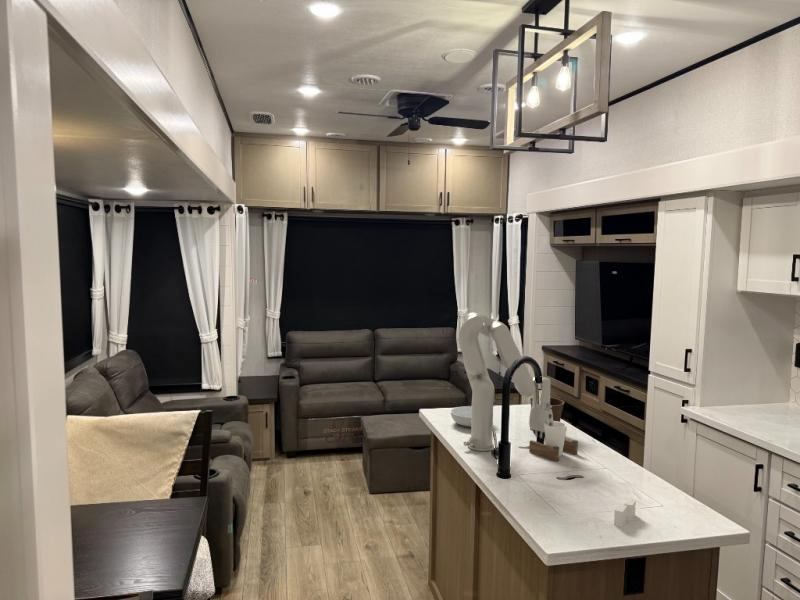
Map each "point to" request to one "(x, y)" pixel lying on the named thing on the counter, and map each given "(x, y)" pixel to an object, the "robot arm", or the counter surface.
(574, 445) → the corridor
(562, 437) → the foam cup
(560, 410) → the plant pot
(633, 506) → the napkin holder
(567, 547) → the counter surface
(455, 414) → the serving bowl
